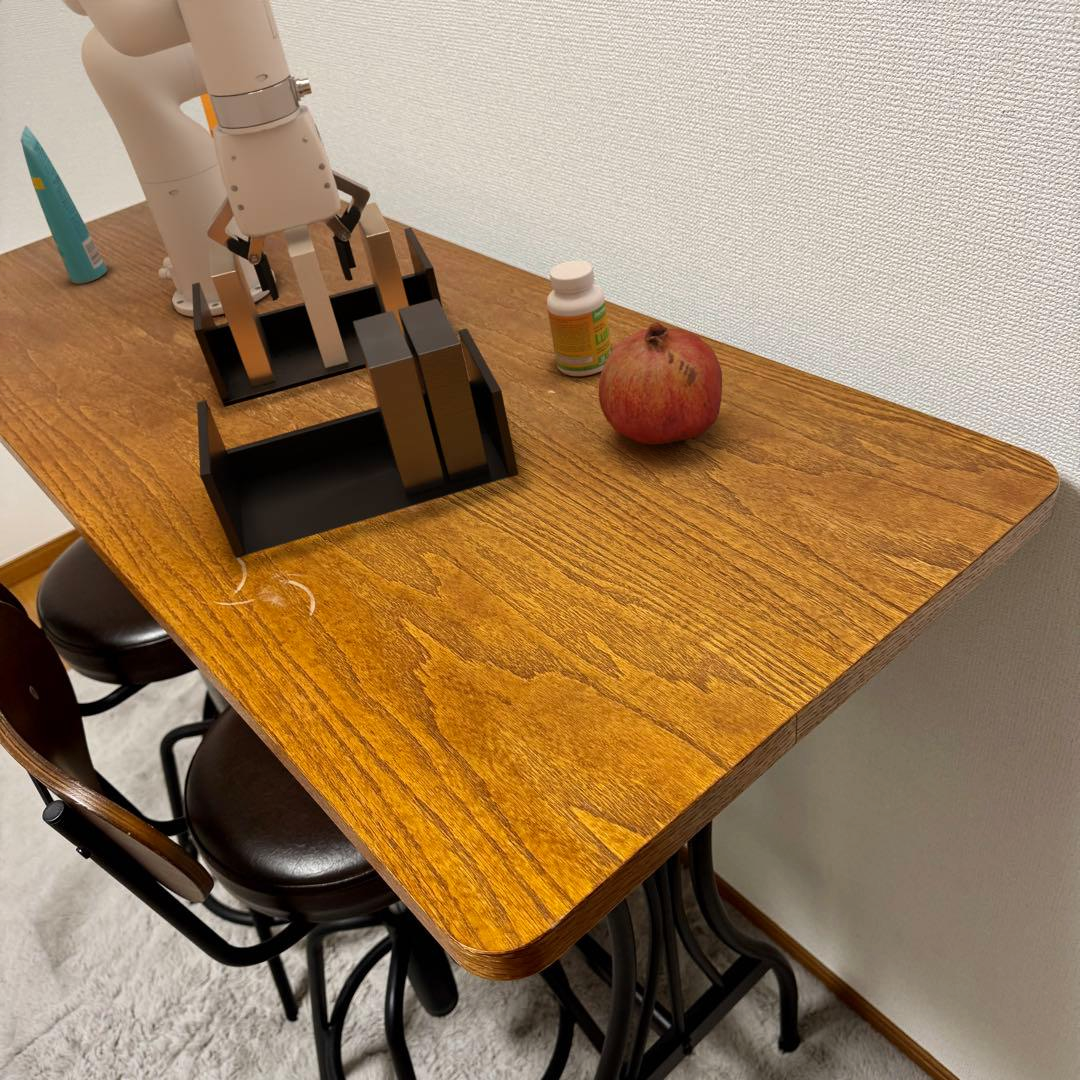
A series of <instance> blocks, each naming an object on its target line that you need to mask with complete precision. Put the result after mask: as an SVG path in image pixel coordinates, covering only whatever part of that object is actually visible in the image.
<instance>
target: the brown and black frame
mask: <svg viewBox="0 0 1080 1080" xmlns="http://www.w3.org/2000/svg"><path fill="white" fill-rule="evenodd" d="M357 227H358V232H359V234H360V238H361V242H362V247H363V249H364V253H365V258H366V260H367V265H368V268H369V271H370V276H371V278H372V284H367V285H364V286H360V287H357V288H352V289H349V290H345V291H342V292H337V293H333V294H330V295H328V296H329V299H330V303H331V306H332V309H333V313H334V316H335V319H336V323H337V326H338V329H339V333H340V336H341V339H342V343H343V346H344V349H345V352H346V356H347V359H348V362H346V363H342V364H339V365H335V366H331V367H328V368H325V365H324V362H323V359H322V356H321V353H320V350H319V346H318V343H317V340H316V337H315V334H314V331H313V328H312V325H311V321H310V318H309V315H308V312H307V309H306V306H305V303H304V302H300V303H297V304H293V305H290V306H285V307H281V308H278V309H277V308H276V309H273V310H271V311H267V312H266V311H265V312H262V313H258V309H257V306H256V304H255V303H254V301H253V298H252V295H251V292H250V289H249V287H248V284H247V281H246V278H245V275H244V272H243V269H242V267H241V264H240V261H239V258H238V255H237V254H235V253H233V252H231V251H229V249H228V248H226V247H225V246H222V245H221V244H219V243H214V244H210V245H209V257H210V269H211V278H212V281H213V284H214V286H215V289H216V292H217V295H218V297H219V300H220V303H221V305H222V308H223V311H224V313H225V314H224V316H225V319H226V321H227V322H225V323H222V324H218V325H216V321H215V320H214V316H212V314H211V312H210V309H209V306H208V304H207V301H206V298H205V296H204V293H203V291H202V288H201V285H200V283H199V282H198V283H195V284H192V298H193V317H192V319H193V320H192V321H193V332H194V335H195V338H196V340H197V342H198V345H199V347H200V350H201V352H202V355H203V358H204V360H205V362H206V365H207V367H208V371H209V373H210V375H211V377H212V380H213V383H214V385H215V388H216V390H217V394H218V395H219V398H220V401H221V403H222V406H223V407H224V408H227V407H229V406H233V405H238V404H241V403H245V402H248V401H251V400H256V399H259V398H263V397H266V396H270V395H273V394H277V393H280V392H285V391H288V390H292V389H296V388H299V387H302V386H303V387H304V386H307V385H310V384H314V383H317V382H321V381H325V380H328V379H331V378H335V377H339V376H342V375H343V376H344V375H346V374H350V373H353V372H357V371H360V370H363V369H367V368H366V365H365V362H364V358H363V355H362V351H361V348H360V344H359V341H358V337H357V334H356V331H355V327H354V324H353V321H356V320H360V319H364V318H368V317H371V316H375V315H379V314H382V313H386V312H390V311H393V312H394V314H395V317H396V319H397V321H398V324H399V326H400V328H401V331H402V333H403V335H404V332H403V328H402V324H401V320H400V316H399V312H398V309H401V308H405V307H408V306H412V305H416V304H420V303H423V302H427V301H431V300H434V299H438V301H439V303H440V305H441V307H442V309H443V310H444V308H443V303H442V299H441V295H440V290H439V286H438V282H437V278H436V277H437V276H436V272H435V269H434V266H433V264H432V262H431V260H430V259H429V257H428V255H427V253H426V251H425V250H424V248H423V246H422V244H421V243H420V241H419V239H418V237H417V234H415V231H414V229H413V228H412V227H407V228H404V230H403V231H404V235H405V239H406V243H407V247H408V252H409V257H410V259H411V263H412V267H413V273H410V274H405V275H402V272H401V268H400V264H399V261H398V257H397V253H396V248H395V244H394V241H393V237H392V232H391V230H390V228H389V226H388V224H387V222H386V220H385V218H384V216H383V214H382V212H381V210H380V208H379V206H378V204H377V202H372V203H367V204H366V206H365V208H364V210H363V211H362V213H361V218H360V220H359V221H358V223H357ZM404 338H405V335H404ZM405 340H406V339H405Z"/></svg>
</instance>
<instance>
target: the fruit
mask: <svg viewBox="0 0 1080 1080" xmlns="http://www.w3.org/2000/svg"><path fill="white" fill-rule="evenodd" d="M722 393H723V371H722V367H721V365H720V362H719V359H718V357H717V355H716V353H715V351H714V349H713V348H712V347H711V346H710V345H709V344H707V343H706V341H704V340H703V339H702V338H701V337H699V336H697V335H696V334H694V333H692V332H689V331H687V330H684V329H679V328H668V327H666V326H664V325H663V324H661V323H660V322H659V321H656V322H653V323H650V324H649V327H648V328H646V329H645V328H644V329H640V330H638V331H637V332H635V333H633V334H632V335H630V336H627V337H625V338H623V339H621V340H620V341H618V343H617V344H616V345H615V346H614V347H612V348H611V352H610V354H609V357H608V359H607V361H606V363H605V365H604V367H603V369H602V371H601V373H600V377H599V381H598V402H599V405H600V409H601V412H602V413H603V415H604V417H605V419H606V421H607V423H609V424H610V426H611V427H612V428H613V429H614V430H615V431H616V432H618V433H619V434H621V435H623V436H624V437H627V438H628V439H631V440H633V441H635V442H638V443H641V444H647V445H663V444H670V443H674V442H679V441H684V440H688V439H692V438H695V437H698V436H700V435H703V434H704V433H706V432H707V431H708V430H709V429H710V428H711V427H712V426H713V425H714V424H715V423H716V422H717V420H718V418H719V415H720V411H721V404H722Z"/></svg>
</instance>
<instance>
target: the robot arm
mask: <svg viewBox="0 0 1080 1080" xmlns="http://www.w3.org/2000/svg"><path fill="white" fill-rule="evenodd" d="M61 1H62V3H64V5H65V6H66V7H67V8H68V9H69V10H71V11H72V12H73V13H75V14H77V15H79V16H83V17H88V18H89V20H90V22H91V24H93V26H94V27H92V28H91V29H90V30H89V32H87V34H85V36H84V38H83V41H82V43H81V49H80V55H81V56H80V57H81V62H82V66H83V68H84V71H85V73H86V76H87V78H88V80H89V82H90V84H91V85H92V87H93V89H94V90H95V92H96V94H97V96H98V97H99V99H100V101H101V103H102V105H103V106H104V108H105V110H106V112H107V113H108V116H109V117H110V119H111V121H112V122H113V123H112V124H113V125H114V127H115V129H116V130H117V133H118V135H119V137H120V139H121V141H122V143H123V146H124V148H125V150H126V153H127V156H128V158H129V160H130V162H131V163H130V164H131V165H132V168H133V170H134V172H135V175H136V178H137V180H138V182H139V185H140V187H141V189H142V192H143V195H144V198H145V201H146V203H147V205H148V209H149V210H150V213H151V215H152V218H153V221H154V223H155V226H156V228H157V231H158V233H159V236H160V238H161V241H162V243H163V246H164V248H165V251H166V253H167V256H166V257H165V258H164V259H163V261H162V266H163V267H161V268H159V270H158V272H157V274H158V277H159V279H161V280H164V281H173V284H174V287H175V291H174V293H173V295H172V298H171V302H172V305H173V307H174V309H175V310H176V312H177V313H179V314H180V315H182V316H187V317H192V318H193V298H192V284H195V283H198V282H199V283H200V285H201V288H202V291H203V293H204V296H205V298H206V301H207V304H208V306H209V309H210V312H211V314H212V317H214V316H220V315H225V313H224V311H223V308H222V305H221V303H220V300H219V297H218V295H217V292H216V289H215V286H214V284H213V281H212V278H211V269H210V257H209V245H210V244H214V243H219V244H221V245H222V246H225V247H226V248H228V249H229V251H231V252H233V253H235V254H237V255H238V258H239V261H240V264H241V267H242V269H243V272H244V275H245V278H246V281H247V284H248V287H249V289H250V292H251V295H252V298H253V301H254V304H255V303H257V302H258V301H260V300H262V299H263V298H265V297H266V296H267V295H268V294H270V297H271V300H272V302H274V301H278V300H279V298H280V294H279V290H278V289H279V288H278V285H277V279H276V275H275V273H274V270H273V269H272V268H271V265H270V261H269V258H268V255H267V253H264V250H263V249H264V243H265V238H266V236H269V235H274V234H277V233H280V232H283V231H285V230H289V229H293V228H297V227H301V226H305V225H307V226H309V225H313V224H315V223H320V222H323V223H324V224H325V225H326V226H327V227H328V228H329V229H330V231H331V232H332V233H333V236H332V239H333V243H334V247H335V250H336V253H337V257H338V260H339V264H340V267H341V271H342V274H343V276H344V277H343V278H344V280H345V281H348V282H350V281H353V280H354V278H353V275H352V271H351V269H355V268H357V265H356V260H355V257H354V253H353V250H352V246H351V242H350V240H351V239H352V233H353V232H354V229H356V226H358V224H357V223H358V221H359V220H360V218H361V213H362V211H363V210H364V208H365V206H366V205H367V204H368V202H369V200H370V198H371V191H370V190H369V188H368V187H367V186H366V185H363V184H362V183H360V182H358V181H356V180H354V179H352V178H350V177H347V176H346V175H343V174H341V173H340V172H337V171H335V170H333V169H332V167H331V163H330V161H329V157H328V154H327V150H326V147H325V145H324V142H323V139H322V137H321V135H320V132H319V129H318V127H317V124H316V122H315V120H314V117H313V115H312V114H311V111H310V109H309V107H308V106H307V105H305V104H300V103H299V102H301V101H302V98H305V96H306V95H311V94H312V93H313V92H312V88H311V83H310V81H309V78H308V77H306V78H302V79H300V78H295V76H292V75H291V71H290V67H289V65H288V61H287V58H286V54H285V50H284V47H283V43H282V40H281V37H280V33H279V30H278V26H277V23H276V19H275V16H274V12H273V8H272V5H271V1H270V0H61ZM207 93H208V95H209V98H210V101H211V104H212V107H213V110H214V113H215V115H216V118H217V121H218V125H216V126H215V127H214V128H213V137H212V136H211V133H210V131H208V130H207V129H206V128H205V127H204V126H203V125H202V124H200V123H198V122H197V121H196V120H194V118H193V119H192V118H191V117H190V116H188V115H187V114H186V113H184V111H183V110H182V109H181V106H182V104H184V103H186V102H189V101H191V100H192V99H196V98H198V97H200V96H201V95H204V94H207ZM213 138H214V139H213ZM339 191H340V192H343V193H344V194H346V195H349V196H351V199H350V203H349V205H348V206H347V207H346V209H345V210H344V212H343V213H342V215H341V216H340V215H339V213H340V211H341V209H342V204H341V199H340V193H339Z"/></svg>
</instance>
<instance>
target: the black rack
mask: <svg viewBox="0 0 1080 1080" xmlns="http://www.w3.org/2000/svg"><path fill="white" fill-rule="evenodd" d="M442 307H443V306H442ZM442 307H441V305H440V303H439V301H438V299H434V300H431V301H427V302H423V303H420V304H416V305H412V306H408V307H405V308H401V309H398V312H399V316H400V320H401V324H402V328H403V332H404V335H405V338H404V335H403V333H402V331H401V328H400V326H399V324H398V321H397V319H396V317H395V314H394V312H393V311H390V312H386V313H382V314H379V315H375V316H371V317H368V318H364V319H360V320H356V321H353V324H354V327H355V331H356V334H357V337H358V341H359V344H360V348H361V351H362V355H363V358H364V362H365V365H366V368H365V369H366V372H367V375H368V378H369V382H370V387H371V388H372V392H373V395H374V399H375V402H376V407H372V408H369V409H366V410H362V411H359V412H354V413H352V414H348V415H345V416H341V417H337V418H333V419H330V420H326V421H322V422H319V423H316V424H313V425H309V426H305V427H303V428H298V429H295V430H291V431H288V432H284V433H280V434H277V435H273V436H270V437H266V438H263V439H259V440H255V441H252V442H249V443H244V444H241V445H238V446H234V447H231V448H227V447H226V445H225V443H224V441H223V438H222V436H221V433H220V431H219V428H218V426H217V423H216V421H215V418H214V416H213V413H212V410H211V409H210V406H209V403H208V401H207V400H206V399H205V400H201V401H197V402H196V410H197V411H196V413H197V433H198V434H197V435H198V436H197V437H198V439H197V440H198V461H199V476H200V477H199V478H200V480H201V482H202V484H203V486H204V488H205V490H206V493H207V495H208V498H209V500H210V502H211V505H212V507H213V509H214V511H215V514H216V516H217V518H218V521H219V523H220V525H221V528H222V530H223V532H224V534H225V538H226V539H227V542H228V544H229V546H230V548H231V550H232V553H233V555H234V557H235V559H238V558H241V557H245V556H247V555H252V554H255V553H258V552H262V551H265V550H268V549H272V548H276V547H278V546H282V545H285V544H288V543H292V542H295V541H298V540H302V539H306V538H309V537H312V536H316V535H319V534H323V533H325V532H329V531H332V530H336V529H339V528H343V527H347V526H349V525H353V524H357V523H359V522H362V521H366V520H369V519H374V518H377V517H380V516H383V515H387V514H391V513H394V512H397V511H401V510H403V509H408V508H411V507H414V506H417V505H421V504H425V503H428V502H431V501H434V500H438V499H441V498H444V497H447V496H451V495H455V494H458V493H462V492H465V491H469V490H472V489H475V488H478V487H482V486H485V485H489V484H492V483H494V482H495V483H496V482H499V481H502V480H504V479H505V480H506V479H509V478H512V477H515V476H519V470H518V465H517V460H516V456H515V455H516V454H515V450H514V446H513V441H512V436H511V431H510V426H509V420H508V415H507V411H506V407H505V401H504V397H503V393H502V392H503V390H502V389H501V387H500V385H499V383H498V381H497V380H496V378H495V376H494V374H493V372H492V370H491V369H490V367H489V365H488V364H487V362H486V360H485V358H484V356H483V354H482V353H481V350H480V349H479V347H478V345H477V343H476V341H475V340H474V338H473V336H472V335H471V333H470V331H469V329H468V328H463V329H460V330H458V335H457V334H456V331H455V330H454V328H453V325H452V324H451V322H450V320H449V318H448V317H447V314H446V313H445V311H444V308H443V309H442ZM458 336H459V338H458ZM405 339H406V340H405Z"/></svg>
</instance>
